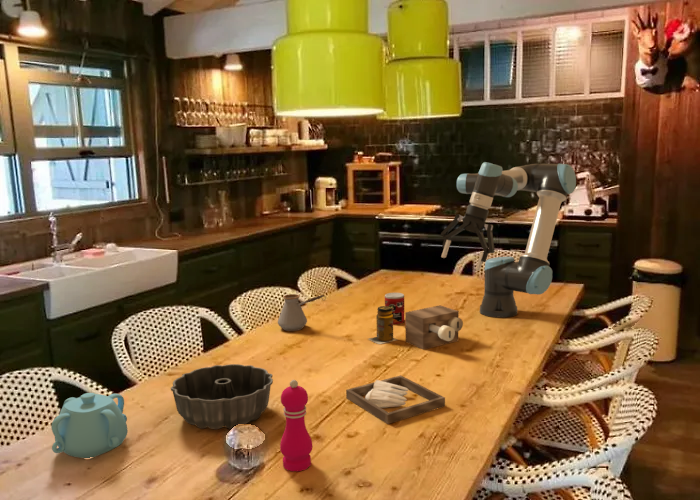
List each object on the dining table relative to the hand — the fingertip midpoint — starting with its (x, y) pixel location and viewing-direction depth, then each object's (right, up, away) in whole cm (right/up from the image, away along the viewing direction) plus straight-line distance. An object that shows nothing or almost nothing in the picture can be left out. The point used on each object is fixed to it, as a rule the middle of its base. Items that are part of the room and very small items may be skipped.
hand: (460, 263), depth 223 cm
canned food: (-21, -24, +26) cm, 42 cm away
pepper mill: (-51, -44, -82) cm, 106 cm away
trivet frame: (-27, -37, -50) cm, 68 cm away
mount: (-9, -28, 0) cm, 30 cm away
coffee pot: (-57, -26, +18) cm, 66 cm away
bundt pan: (-73, -40, -56) cm, 100 cm away
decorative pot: (-101, -43, -72) cm, 132 cm away
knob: (-10, -25, -7) cm, 28 cm away
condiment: (-27, -28, +4) cm, 39 cm away
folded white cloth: (-29, -38, -50) cm, 69 cm away
